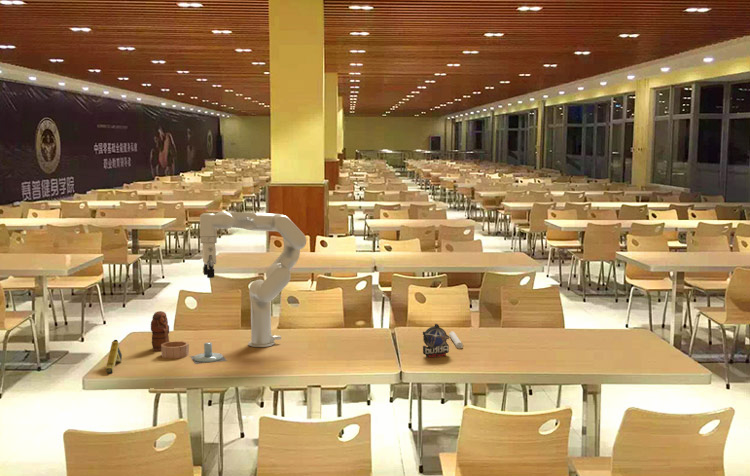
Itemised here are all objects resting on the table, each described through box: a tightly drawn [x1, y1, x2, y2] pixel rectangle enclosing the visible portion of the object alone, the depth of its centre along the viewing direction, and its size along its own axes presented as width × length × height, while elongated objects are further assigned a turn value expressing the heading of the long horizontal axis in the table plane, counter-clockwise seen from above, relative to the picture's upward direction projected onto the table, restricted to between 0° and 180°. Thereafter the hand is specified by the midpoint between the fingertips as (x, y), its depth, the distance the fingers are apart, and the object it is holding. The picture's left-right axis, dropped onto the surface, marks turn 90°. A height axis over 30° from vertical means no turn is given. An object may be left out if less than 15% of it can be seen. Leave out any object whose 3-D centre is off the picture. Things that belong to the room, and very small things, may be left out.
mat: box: [189, 353, 228, 365], centre depth 375 cm, size 14×14×1 cm
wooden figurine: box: [150, 310, 170, 352], centre depth 394 cm, size 12×6×18 cm, turn 175°
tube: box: [448, 330, 464, 349], centre depth 405 cm, size 3×3×25 cm
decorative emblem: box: [422, 323, 450, 359], centre depth 377 cm, size 12×2×15 cm, turn 108°
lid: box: [193, 341, 224, 363], centre depth 374 cm, size 13×13×7 cm
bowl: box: [160, 340, 190, 360], centre depth 381 cm, size 12×12×6 cm
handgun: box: [105, 339, 123, 374], centre depth 362 cm, size 2×19×12 cm
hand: (209, 276), depth 388 cm, fingers open, 9 cm apart
